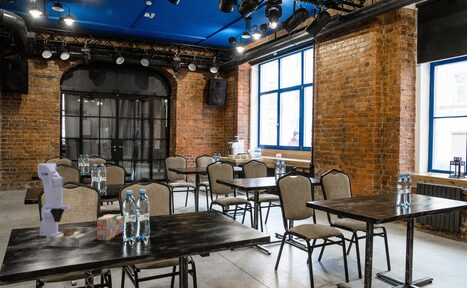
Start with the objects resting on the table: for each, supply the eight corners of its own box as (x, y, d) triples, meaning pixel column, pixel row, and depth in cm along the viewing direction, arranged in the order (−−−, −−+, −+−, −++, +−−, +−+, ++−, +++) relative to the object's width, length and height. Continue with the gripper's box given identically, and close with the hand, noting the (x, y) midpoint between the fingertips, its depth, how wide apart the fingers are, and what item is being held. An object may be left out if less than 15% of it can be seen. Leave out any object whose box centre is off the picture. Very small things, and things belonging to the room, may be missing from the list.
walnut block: (63, 236, 207) (63, 229, 207) (67, 234, 211) (67, 227, 211) (69, 236, 207) (69, 229, 206) (74, 234, 210) (74, 227, 210)
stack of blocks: (114, 230, 231) (114, 211, 231) (124, 231, 230) (123, 211, 230) (97, 240, 210) (96, 218, 210) (107, 240, 209) (107, 219, 209)
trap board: (46, 245, 199) (46, 236, 199) (70, 235, 220) (70, 226, 220) (78, 247, 196) (78, 237, 196) (99, 236, 217) (99, 228, 217)
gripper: (40, 198, 207) (41, 223, 207) (64, 199, 204) (64, 223, 204) (49, 196, 214) (49, 220, 214) (72, 197, 211) (72, 221, 211)
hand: (57, 221), depth 210 cm, fingers closed
